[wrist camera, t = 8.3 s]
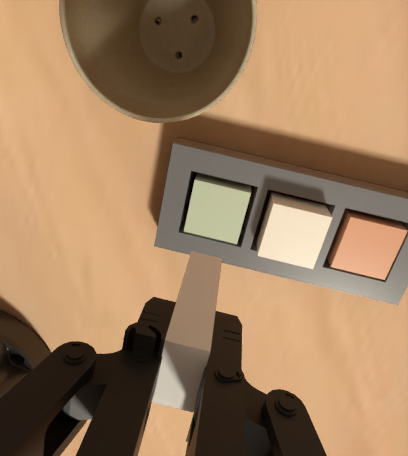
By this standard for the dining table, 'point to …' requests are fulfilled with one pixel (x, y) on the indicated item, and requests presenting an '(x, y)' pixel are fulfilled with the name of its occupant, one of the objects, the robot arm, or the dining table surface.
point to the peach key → (366, 243)
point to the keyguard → (262, 180)
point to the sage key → (217, 208)
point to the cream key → (293, 230)
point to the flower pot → (159, 52)
